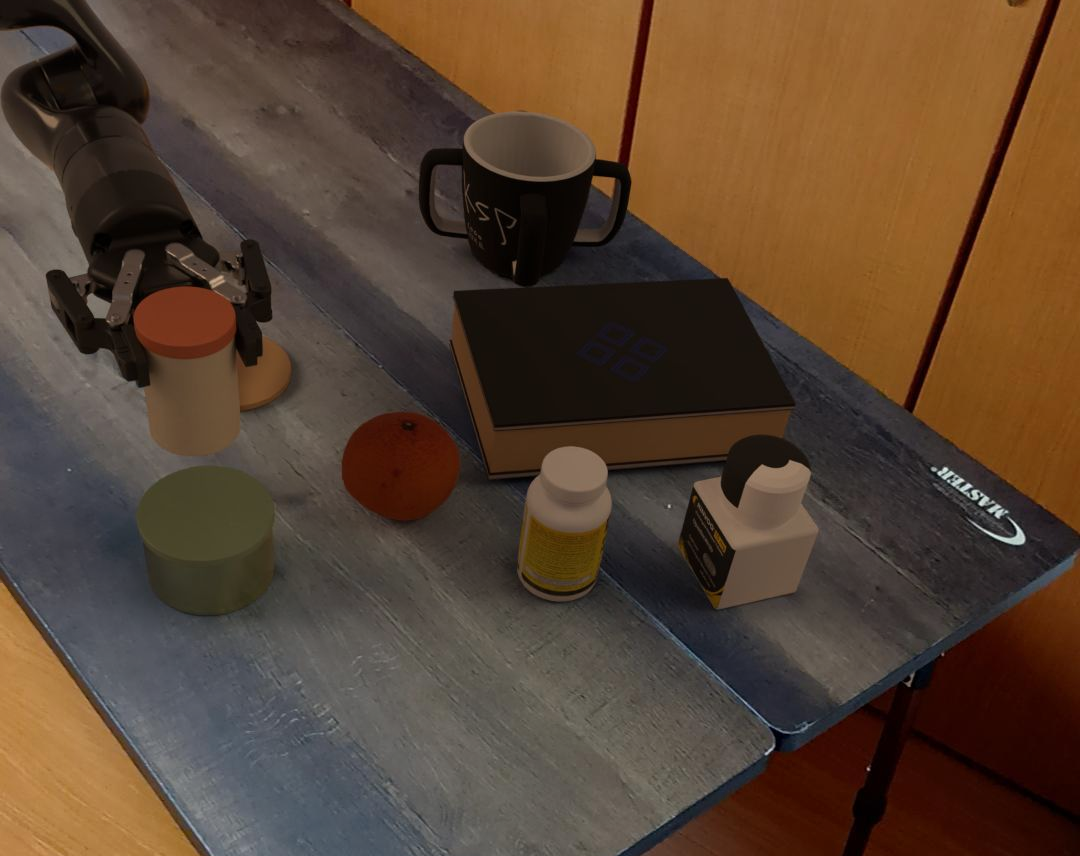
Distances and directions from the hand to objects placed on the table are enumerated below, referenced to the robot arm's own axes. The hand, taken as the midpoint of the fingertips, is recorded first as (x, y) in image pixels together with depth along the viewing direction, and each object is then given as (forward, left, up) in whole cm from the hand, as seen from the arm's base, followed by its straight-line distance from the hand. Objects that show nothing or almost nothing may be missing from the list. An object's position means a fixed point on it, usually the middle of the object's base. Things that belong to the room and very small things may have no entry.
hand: (198, 364), depth 80 cm
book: (+35, +15, -21) cm, 43 cm away
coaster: (+4, +24, -21) cm, 32 cm away
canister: (-1, +2, -7) cm, 7 cm away
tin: (0, +2, -21) cm, 21 cm away
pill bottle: (+25, -3, -21) cm, 33 cm away
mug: (+33, +38, -21) cm, 55 cm away
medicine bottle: (+39, -5, -21) cm, 44 cm away
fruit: (+15, +7, -21) cm, 27 cm away
